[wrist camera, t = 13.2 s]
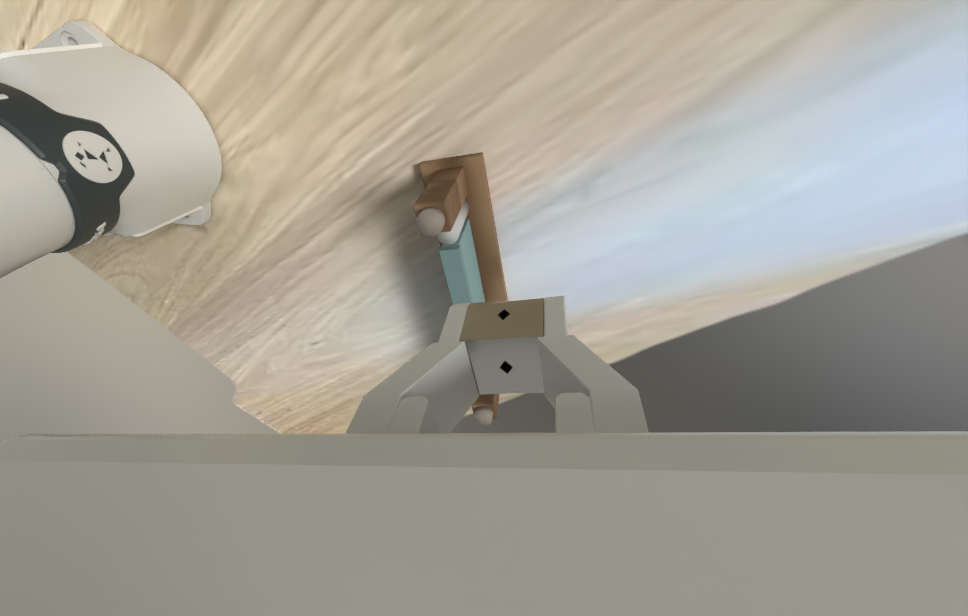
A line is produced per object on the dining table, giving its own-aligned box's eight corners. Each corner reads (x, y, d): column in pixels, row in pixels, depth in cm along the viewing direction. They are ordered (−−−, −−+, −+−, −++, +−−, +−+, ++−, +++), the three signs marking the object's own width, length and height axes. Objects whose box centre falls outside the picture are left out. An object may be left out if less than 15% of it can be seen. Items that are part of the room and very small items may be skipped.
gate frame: (474, 364, 53) (460, 432, 44) (421, 161, 37) (384, 204, 28) (518, 362, 51) (513, 432, 43) (482, 152, 36) (462, 194, 27)
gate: (447, 199, 38) (431, 227, 33) (467, 196, 37) (454, 225, 32) (480, 346, 49) (472, 385, 43) (495, 345, 48) (490, 385, 43)
